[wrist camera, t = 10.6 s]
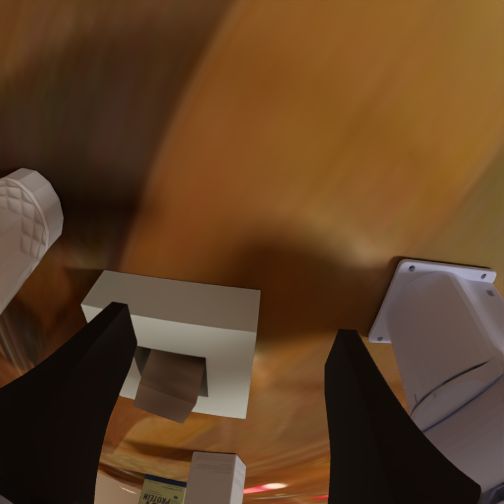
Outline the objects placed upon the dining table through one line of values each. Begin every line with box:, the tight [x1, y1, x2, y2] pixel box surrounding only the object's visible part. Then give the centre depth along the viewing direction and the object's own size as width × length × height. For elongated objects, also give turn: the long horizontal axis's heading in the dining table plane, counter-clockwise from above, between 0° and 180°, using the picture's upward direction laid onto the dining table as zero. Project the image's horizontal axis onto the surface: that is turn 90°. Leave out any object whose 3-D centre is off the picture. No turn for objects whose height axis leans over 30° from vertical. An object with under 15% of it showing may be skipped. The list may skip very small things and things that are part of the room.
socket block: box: [81, 270, 261, 419], centre depth 24 cm, size 12×12×4 cm
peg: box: [133, 349, 206, 424], centre depth 22 cm, size 4×4×7 cm
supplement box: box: [184, 451, 246, 504], centre depth 38 cm, size 7×7×13 cm
